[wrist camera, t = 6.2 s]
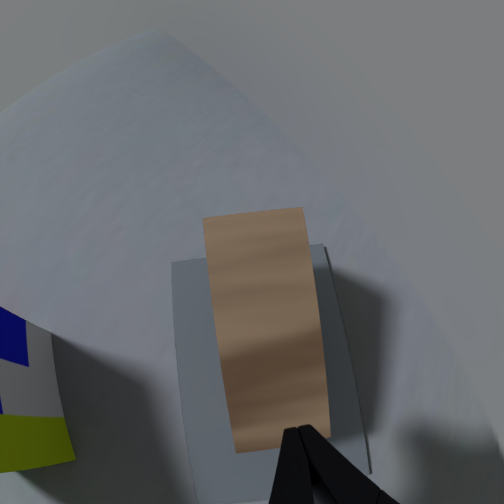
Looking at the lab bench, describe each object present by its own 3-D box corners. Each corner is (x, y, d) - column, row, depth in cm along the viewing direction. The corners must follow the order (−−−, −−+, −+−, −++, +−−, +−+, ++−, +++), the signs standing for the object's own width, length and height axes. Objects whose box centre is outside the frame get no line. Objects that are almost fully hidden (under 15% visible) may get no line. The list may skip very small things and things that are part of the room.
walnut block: (330, 436, 11) (302, 207, 13) (235, 453, 11) (202, 218, 13) (309, 407, 16) (286, 230, 18) (236, 418, 15) (211, 239, 17)
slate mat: (368, 473, 14) (369, 474, 13) (198, 502, 13) (198, 504, 12) (321, 245, 21) (322, 243, 21) (172, 264, 21) (171, 262, 20)
